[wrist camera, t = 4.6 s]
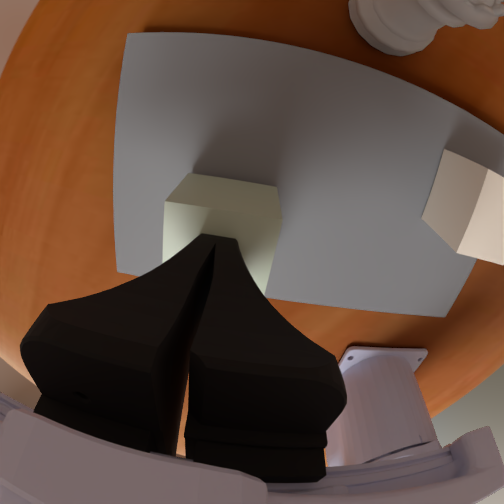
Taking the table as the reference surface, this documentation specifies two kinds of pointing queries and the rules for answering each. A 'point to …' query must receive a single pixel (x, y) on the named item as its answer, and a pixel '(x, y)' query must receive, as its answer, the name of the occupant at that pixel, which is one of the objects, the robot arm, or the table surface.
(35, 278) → the table surface
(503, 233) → the cream matte cube
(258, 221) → the pale green cube
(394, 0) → the rook chess piece
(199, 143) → the panel
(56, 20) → the table surface
